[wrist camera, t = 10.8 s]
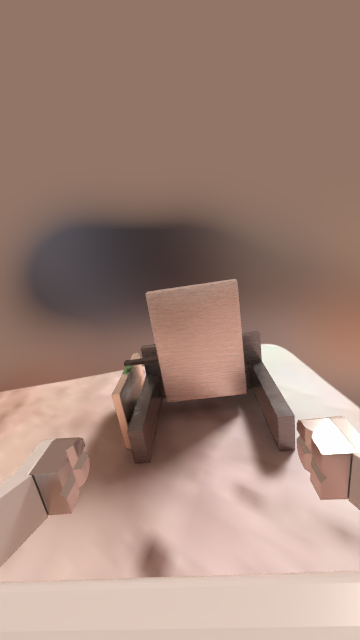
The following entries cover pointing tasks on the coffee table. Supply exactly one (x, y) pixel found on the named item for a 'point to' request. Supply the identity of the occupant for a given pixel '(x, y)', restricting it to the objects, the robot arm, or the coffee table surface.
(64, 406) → the coffee table surface
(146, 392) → the gauge housing
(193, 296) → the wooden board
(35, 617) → the robot arm
